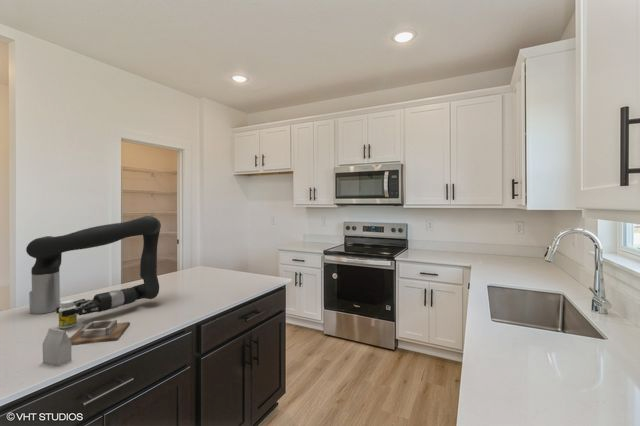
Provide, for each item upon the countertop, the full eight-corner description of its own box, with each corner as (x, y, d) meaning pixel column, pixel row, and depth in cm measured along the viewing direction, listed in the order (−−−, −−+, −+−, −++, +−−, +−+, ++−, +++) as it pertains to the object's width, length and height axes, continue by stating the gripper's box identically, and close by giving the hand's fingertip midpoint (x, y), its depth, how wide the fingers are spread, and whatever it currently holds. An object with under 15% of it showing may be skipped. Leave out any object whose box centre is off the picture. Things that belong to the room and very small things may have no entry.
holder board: (64, 345, 102) (64, 335, 102) (83, 328, 116) (82, 319, 116) (117, 340, 107) (117, 330, 107) (129, 324, 121) (129, 316, 120)
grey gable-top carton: (58, 366, 90) (57, 334, 90) (42, 362, 92) (42, 330, 92) (71, 360, 94) (71, 329, 93) (56, 356, 96) (55, 326, 95)
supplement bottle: (80, 323, 119) (79, 300, 118) (65, 329, 114) (64, 304, 113) (70, 321, 120) (70, 298, 120) (55, 327, 115) (54, 303, 115)
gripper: (101, 288, 132) (52, 299, 118) (116, 295, 125) (66, 307, 110) (101, 305, 133) (52, 317, 118) (117, 312, 125) (66, 326, 111)
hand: (59, 312), depth 114 cm, fingers closed on supplement bottle, 5 cm apart
